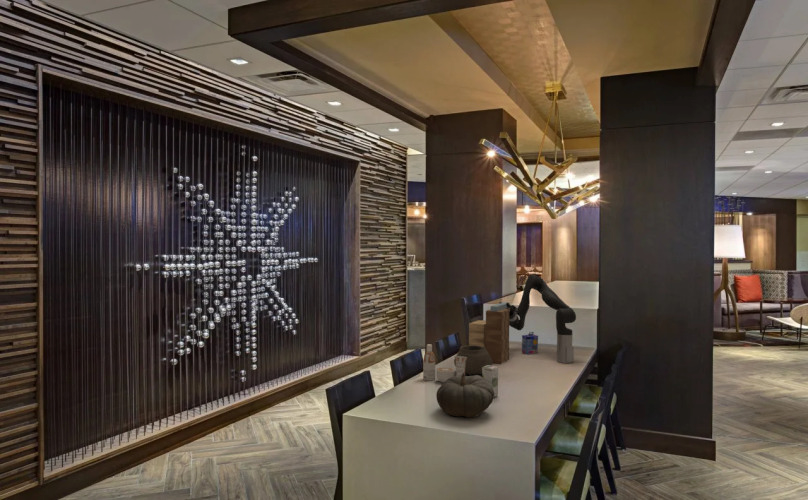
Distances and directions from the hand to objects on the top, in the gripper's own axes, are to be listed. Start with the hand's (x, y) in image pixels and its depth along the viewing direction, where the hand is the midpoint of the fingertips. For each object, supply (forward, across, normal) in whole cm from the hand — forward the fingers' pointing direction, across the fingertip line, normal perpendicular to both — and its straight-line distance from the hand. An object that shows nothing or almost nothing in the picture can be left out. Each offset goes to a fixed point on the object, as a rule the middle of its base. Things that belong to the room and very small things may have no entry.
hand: (503, 303), depth 350 cm
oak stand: (-16, -14, +31) cm, 38 cm away
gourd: (+86, +22, +90) cm, 127 cm away
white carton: (+61, +23, +76) cm, 100 cm away
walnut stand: (-7, 0, +36) cm, 37 cm away
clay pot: (+27, -1, +56) cm, 62 cm away
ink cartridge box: (-37, +11, +19) cm, 43 cm away
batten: (+4, 0, +6) cm, 7 cm away
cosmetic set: (+47, -8, +68) cm, 83 cm away
